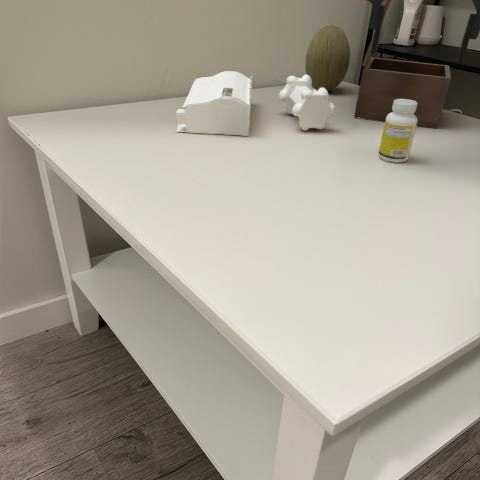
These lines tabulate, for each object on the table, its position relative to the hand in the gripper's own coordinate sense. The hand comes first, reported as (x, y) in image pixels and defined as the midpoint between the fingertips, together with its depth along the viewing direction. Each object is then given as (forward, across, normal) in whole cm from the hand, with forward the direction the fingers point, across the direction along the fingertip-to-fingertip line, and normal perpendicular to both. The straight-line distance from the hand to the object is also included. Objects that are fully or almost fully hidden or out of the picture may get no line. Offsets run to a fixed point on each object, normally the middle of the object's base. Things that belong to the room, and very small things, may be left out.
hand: (415, 57), depth 78 cm
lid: (-3, +7, -31) cm, 32 cm away
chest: (+16, +1, -31) cm, 35 cm away
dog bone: (+17, +20, -15) cm, 30 cm away
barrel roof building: (+17, +38, -10) cm, 43 cm away
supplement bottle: (+17, 0, 0) cm, 17 cm away
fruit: (+17, +21, -46) cm, 53 cm away
